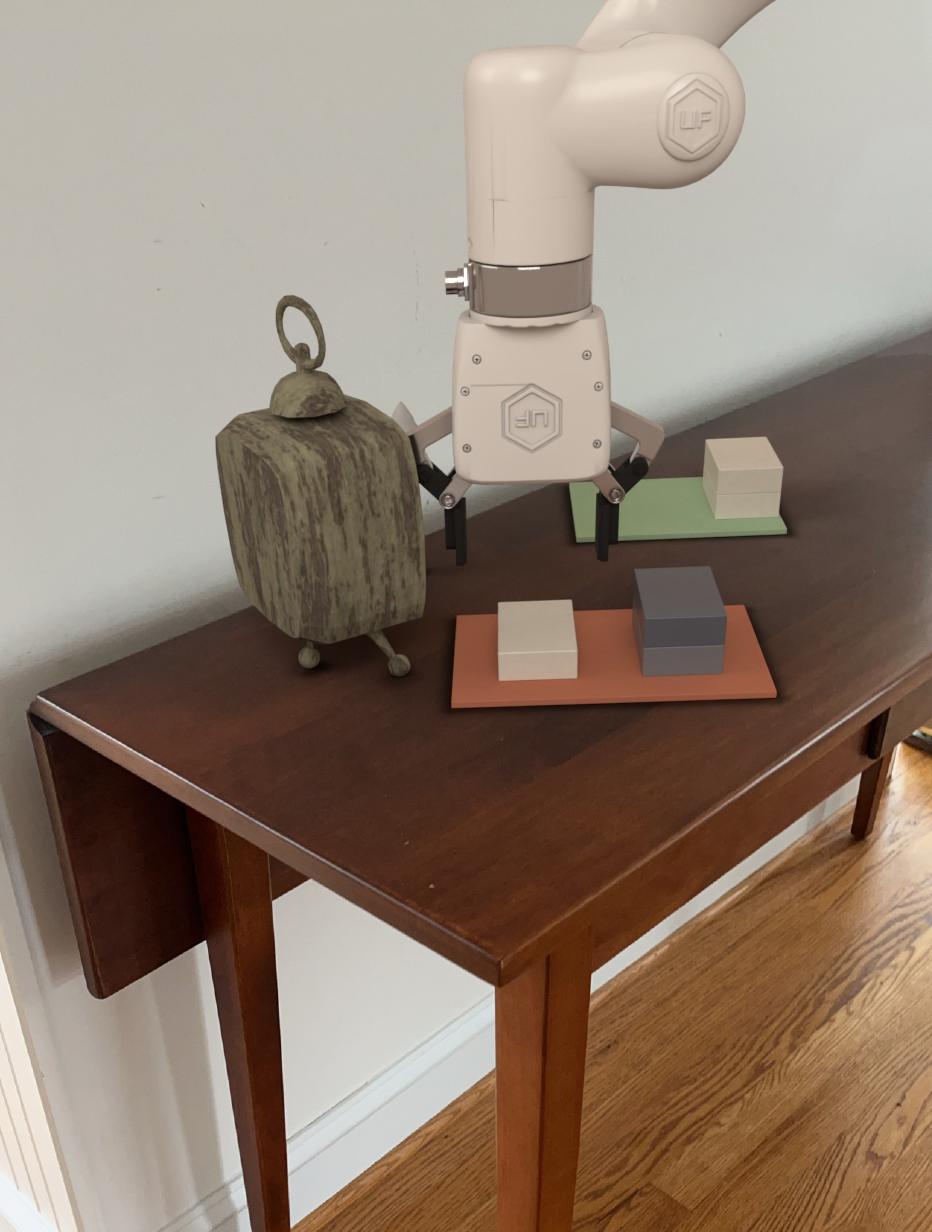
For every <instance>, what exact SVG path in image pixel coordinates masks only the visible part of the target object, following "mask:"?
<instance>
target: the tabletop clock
mask: <svg viewBox="0 0 932 1232" xmlns="http://www.w3.org/2000/svg"><path fill="white" fill-rule="evenodd" d="M288 307H289V308H294V309H297V310H299V311H300V312H302V313H303V315H304V316H305V317H306V319H308V321H309V324H310V326H311V328H312V329H313V332H314V334H315V336H316V339H317V345H318V346H317V347H318V352H317V356H316V357H315V358H312V357H311V356H312V355H311V349H310V345H308V344H307V343H305V342H299V343H297V344H295V345H294V347H293V346H292V344H291V342H290V341H289V339H288V338H287V336H286V333H285V330H284V320H283V319H284V315H285V312H286V310H287V308H288ZM275 327H276V333H277V336H278V339H279V342H280V344H281V347H282V350H283V352H284V353H285V355H287V357H288V358H289V360H290V361H291V362H292V363H294V364H295V369H296V371H292V372H290V373H288V374H286V375H284V376H282V377H281V378H280V379H279V380H278V382H277V383H276V384H275V385H274V387H273V389H272V392H271V395H270V401H269V407H267V408H266V407H265V408H262V409H257V410H252V411H247V412H243V413H239V414H238V415H236V416H234V417H233V418H232V419H231V420H230V421H229V422H228V423H227V424H226V425H225V426H224V427H223V429H221V430H220V431H219V432H218V433H217V434H216V435H215V436H214V437H215V438H214V439H215V440H214V441H215V443H214V444H215V459H216V468H217V474H218V481H219V488H220V495H221V502H222V508H223V515H224V520H225V524H226V531H227V537H228V543H229V548H230V552H231V553H230V554H231V557H232V558H231V559H232V563H233V566H234V570H235V571H234V572H235V574H236V578H237V581H238V585H239V587H240V589H241V591H242V592H243V595H245V597H246V598H247V600H248V601H249V602H250V603H251V604H252V605H253V607H255V608H256V609H257V610H258V611H259V612H260V613H261V614H262V616H264V617H265V618H266V619H267V620H268V621H269V622H271V623H272V624H273V625H275V626H276V627H277V628H278V629H279V630H281V631H282V632H284V633H285V634H286V635H288V636H289V637H290V638H293V639H298V640H301V641H306V646H304V647H302V648H301V649H300V650H299V653H298V662H299V665H300V666H301V667H303V668H304V669H306V670H307V669H309V670H310V669H314V668H316V667H317V666H318V665H319V663H320V660H321V657H320V652H319V650H318V649H317V648H315V644H318V645H321V646H323V645H332V644H335V643H338V642H341V641H345V640H348V639H353V638H355V637H359V636H362V635H365V636H366V637H369V638H370V639H371V640H373V641H374V643H375V644H376V645H377V647H379V648H380V650H381V651H382V652H383V653H384V654H385V656H387V658H388V659H389V660H388V662H387V668H388V670H389V673H390V674H391V675H392V676H394V677H398V678H401V677H402V678H403V677H404V676H406V675H408V673H409V672H410V669H411V663H410V660H409V658H408V656H406V655H405V654H401V653H395V651H394V649H393V647H392V646H391V644H390V642H389V641H388V639H387V637H386V636H385V634H384V632H383V629H386V628H389V627H392V626H396V625H399V624H403V623H406V622H409V621H413V620H416V619H419V618H420V619H421V618H423V616H424V610H425V605H426V596H427V595H426V594H427V593H426V592H427V565H426V564H427V563H426V535H425V526H424V517H423V507H422V497H421V488H420V483H419V481H418V474H417V468H416V462H415V458H414V454H413V450H412V446H411V442H410V439H409V437H408V436H407V435H406V433H405V432H404V431H403V429H402V428H401V427H400V425H399V424H397V423H396V422H395V421H394V420H393V419H392V418H391V417H392V416H389V414H386V413H385V412H384V411H382V410H380V409H379V408H377V407H375V406H374V405H372V404H370V403H369V402H368V401H367V400H363V399H360V398H358V397H354V396H351V395H348V394H344V391H343V390H342V388H341V387H340V385H339V383H338V382H337V380H336V378H334V377H333V376H332V375H331V374H329V373H328V372H326V371H322V370H318V369H320V368H321V367H322V366H323V364H324V362H325V358H326V351H327V346H326V338H325V333H324V330H323V326H322V323H321V320H320V318H319V316H318V314H317V312H316V311H315V309H314V308H313V306H312V305H311V304H310V303H308V301H306V300H305V299H303V297H300V296H297V295H294V294H287V295H283V297H282V298H280V299H279V300H278V302H277V304H276V308H275Z"/></svg>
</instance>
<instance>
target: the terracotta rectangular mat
mask: <svg viewBox="0 0 932 1232" xmlns="http://www.w3.org/2000/svg"><path fill="white" fill-rule="evenodd" d="M724 608H725V611H726V614H727V625H726V637H725V644H724V645H725V649H724V661H723V672H722V674H703V675H673V676H644V677H643V676H642V671H641V666H640V661H639V656H638V651H637V646H636V641H635V636H634V631H633V626H632V612H633V608H621V609H596V610H595V609H594V610H593V609H592V610H573V614H574V623H575V632H576V640H577V649H578V675H577V678H576V679H549V680H519V681H499V675H498V613H487V614H486V613H485V614H483V613H482V614H461V615H460V614H459V615H456V622H455V638H454V652H453V667H452V668H453V669H452V686H451V698H450V699H451V701H450V705H451V709H467V708H469V709H470V708H471V709H472V708H500V707H501V708H502V707H503V708H505V707H532V706H534V707H535V706H536V707H537V706H561V705H563V706H564V705H593V704H623V703H628V704H629V703H657V702H659V703H660V702H687V701H688V702H689V701H716V700H717V701H718V700H722V701H723V700H743V699H744V700H747V699H749V700H752V699H753V700H754V699H776V698H777V694H778V691H777V688H776V685H775V682H774V681H773V678H772V674H771V672H770V669H769V667H768V665H767V662H766V659H765V657H764V654H763V651H762V649H761V646H760V644H759V641H758V638H757V635H756V633H755V630H754V628H753V624H752V622H751V620H750V617H749V614H748V611H747V608H746V605H745V604H730V605H729V604H728V605H724Z"/></svg>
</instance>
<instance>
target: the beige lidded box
mask: <svg viewBox="0 0 932 1232" xmlns="http://www.w3.org/2000/svg"><path fill="white" fill-rule="evenodd" d="M704 441H705V442H704V444H705V445H704V457H703V471H702V472H703V474H702V477H703V485H702V486H703V489H704V492H705V494H706V497H707V499H708V502H709V505H710V507H711V510H712V512H713V515H714V518H715V519H716V520H717V519H741V518H765V517H778V516H779V514H780V506H781V505H780V504H781V497H782V488H783V487H782V485H783V476H784V466H783V464H782V462H781V460H780V459H779V457H778V454H777V453H776V451H775V449H774V448H773V446H772V443H771V442H770V441H769V439H768V437H767V436H749V437H748V436H747V437H730V438H729V437H728V438H727V437H726V438H707V439H705V440H704Z"/></svg>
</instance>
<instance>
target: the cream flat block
mask: <svg viewBox="0 0 932 1232" xmlns="http://www.w3.org/2000/svg"><path fill="white" fill-rule="evenodd" d="M573 611H574V605H573V600H572V599H552V600H551V599H550V600H549V599H548V600H523V601H522V600H521V601H499V602H497V614H498V675H499V681H519V680H549V679H576V678H577V675H578V649H577V640H576V632H575V623H574V614H573Z"/></svg>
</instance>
